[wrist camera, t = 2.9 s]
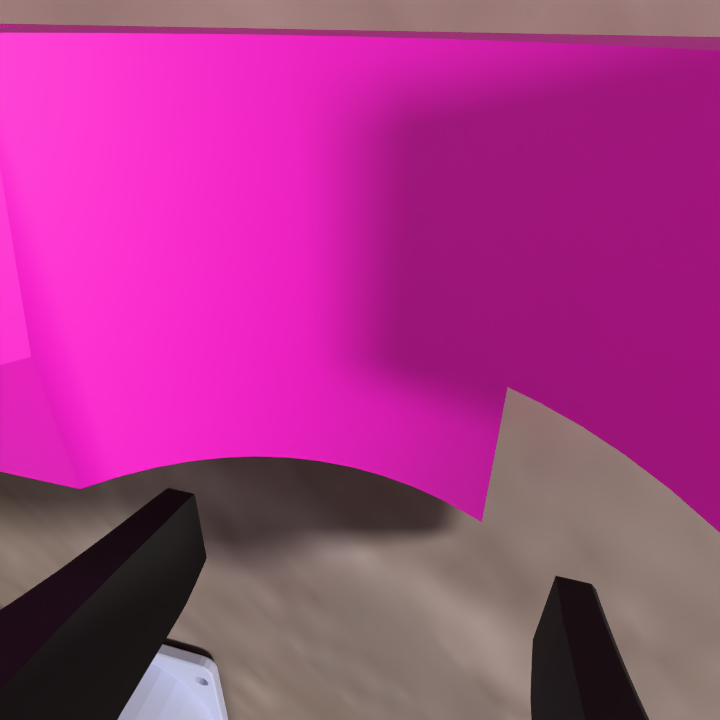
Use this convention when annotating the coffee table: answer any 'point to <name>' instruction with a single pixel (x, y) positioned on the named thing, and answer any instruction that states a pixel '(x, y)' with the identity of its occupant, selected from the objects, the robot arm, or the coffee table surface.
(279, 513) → the coffee table surface
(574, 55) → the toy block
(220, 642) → the coffee table surface
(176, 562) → the robot arm
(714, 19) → the coffee table surface
